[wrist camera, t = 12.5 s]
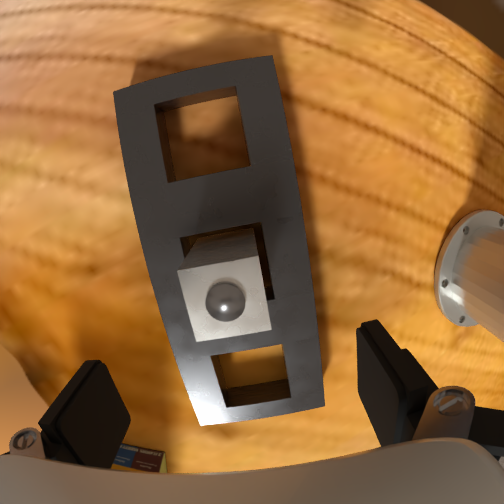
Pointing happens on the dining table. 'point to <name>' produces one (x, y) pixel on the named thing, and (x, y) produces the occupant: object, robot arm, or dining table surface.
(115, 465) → the protein box
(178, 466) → the dining table surface
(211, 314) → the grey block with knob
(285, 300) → the rail
